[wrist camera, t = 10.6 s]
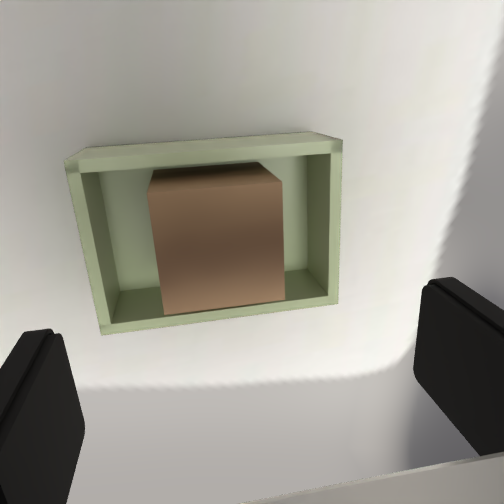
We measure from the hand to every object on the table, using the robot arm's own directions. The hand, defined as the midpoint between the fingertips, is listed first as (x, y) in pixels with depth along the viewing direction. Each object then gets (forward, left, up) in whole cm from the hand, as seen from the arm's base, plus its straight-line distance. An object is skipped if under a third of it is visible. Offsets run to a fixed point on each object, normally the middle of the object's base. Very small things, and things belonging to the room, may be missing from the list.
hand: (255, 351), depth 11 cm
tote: (+1, 0, -16) cm, 16 cm away
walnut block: (+1, 0, -15) cm, 15 cm away
